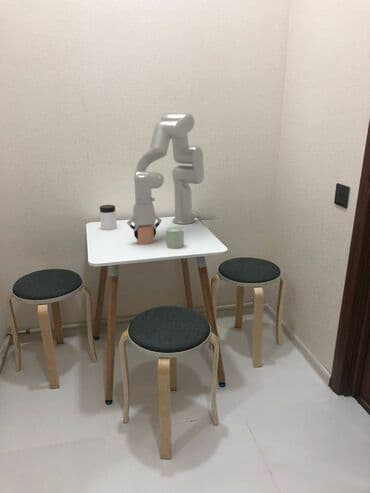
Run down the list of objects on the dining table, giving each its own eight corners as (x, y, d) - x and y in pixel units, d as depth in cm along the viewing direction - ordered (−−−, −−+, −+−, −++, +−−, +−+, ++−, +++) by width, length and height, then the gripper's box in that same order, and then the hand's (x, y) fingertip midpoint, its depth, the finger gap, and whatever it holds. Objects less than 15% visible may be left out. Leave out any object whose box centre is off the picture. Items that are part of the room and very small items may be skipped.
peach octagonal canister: (151, 238, 194) (150, 223, 191) (155, 243, 187) (154, 227, 184) (136, 240, 192) (135, 224, 189) (139, 245, 185) (138, 228, 182)
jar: (111, 224, 219) (109, 203, 216) (120, 227, 214) (118, 205, 210) (97, 228, 213) (95, 206, 209) (106, 231, 208) (105, 208, 204)
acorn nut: (180, 242, 188) (180, 226, 185) (185, 247, 181) (184, 230, 178) (165, 244, 186) (164, 227, 183) (169, 249, 179) (168, 232, 176)
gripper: (159, 198, 189) (161, 233, 194) (123, 201, 184) (126, 236, 190) (163, 201, 182) (164, 237, 187) (126, 204, 177) (128, 241, 183)
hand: (145, 237), depth 188 cm, fingers closed on peach octagonal canister, 7 cm apart
